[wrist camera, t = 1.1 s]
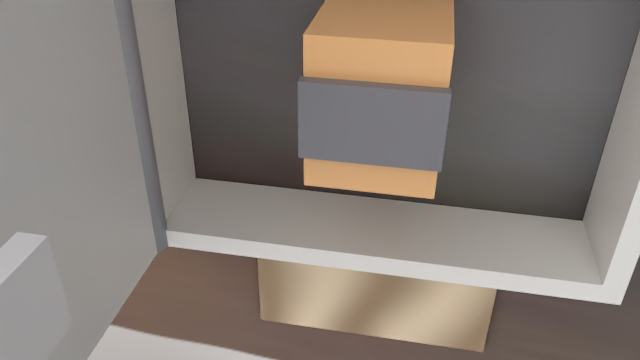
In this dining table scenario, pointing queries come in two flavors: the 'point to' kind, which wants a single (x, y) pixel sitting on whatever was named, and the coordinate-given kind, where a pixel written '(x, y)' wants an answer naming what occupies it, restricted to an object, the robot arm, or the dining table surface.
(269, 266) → the metal plate
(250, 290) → the dining table surface
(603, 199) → the equipment case
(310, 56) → the tan and grey block
